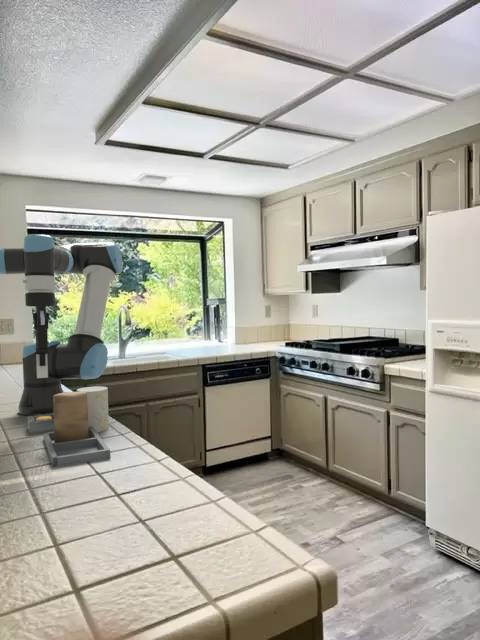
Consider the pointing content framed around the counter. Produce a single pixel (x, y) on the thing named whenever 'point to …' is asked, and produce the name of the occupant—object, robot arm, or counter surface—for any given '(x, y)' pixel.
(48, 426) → the grey square holder
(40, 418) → the button
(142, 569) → the counter surface
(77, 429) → the ball
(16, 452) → the counter surface
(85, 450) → the grey divided tray
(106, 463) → the counter surface
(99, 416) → the white stubby cylinder
